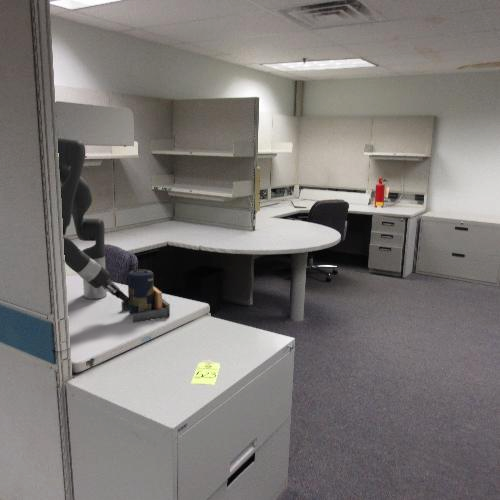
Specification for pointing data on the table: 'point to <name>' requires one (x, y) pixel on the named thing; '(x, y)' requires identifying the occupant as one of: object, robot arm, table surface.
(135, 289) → the canister
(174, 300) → the table surface
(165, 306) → the tray
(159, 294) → the plate
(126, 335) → the table surface
